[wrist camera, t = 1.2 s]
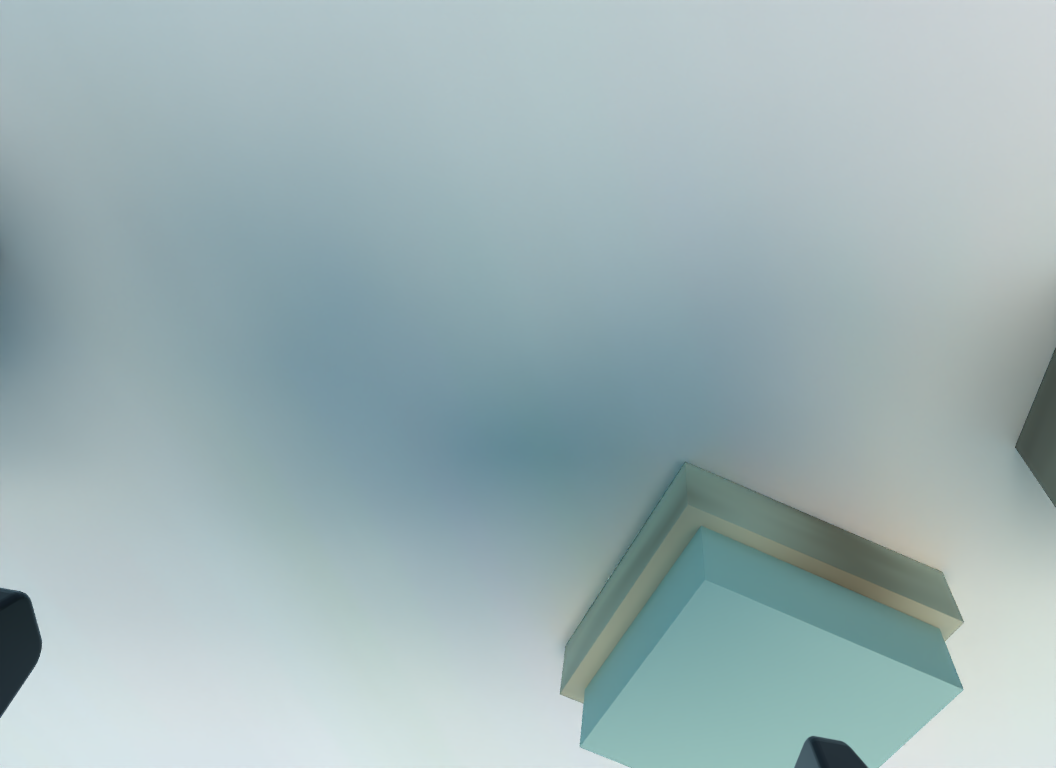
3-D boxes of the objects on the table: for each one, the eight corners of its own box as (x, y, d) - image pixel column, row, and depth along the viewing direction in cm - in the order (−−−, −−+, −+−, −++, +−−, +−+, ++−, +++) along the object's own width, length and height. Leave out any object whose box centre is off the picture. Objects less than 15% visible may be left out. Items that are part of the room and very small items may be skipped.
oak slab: (567, 632, 27) (559, 694, 25) (684, 449, 23) (688, 504, 21) (786, 720, 28) (797, 788, 26) (936, 558, 24) (964, 622, 22)
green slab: (585, 689, 25) (579, 747, 23) (701, 525, 22) (705, 579, 20) (793, 774, 26) (803, 837, 24) (939, 628, 22) (963, 689, 20)
